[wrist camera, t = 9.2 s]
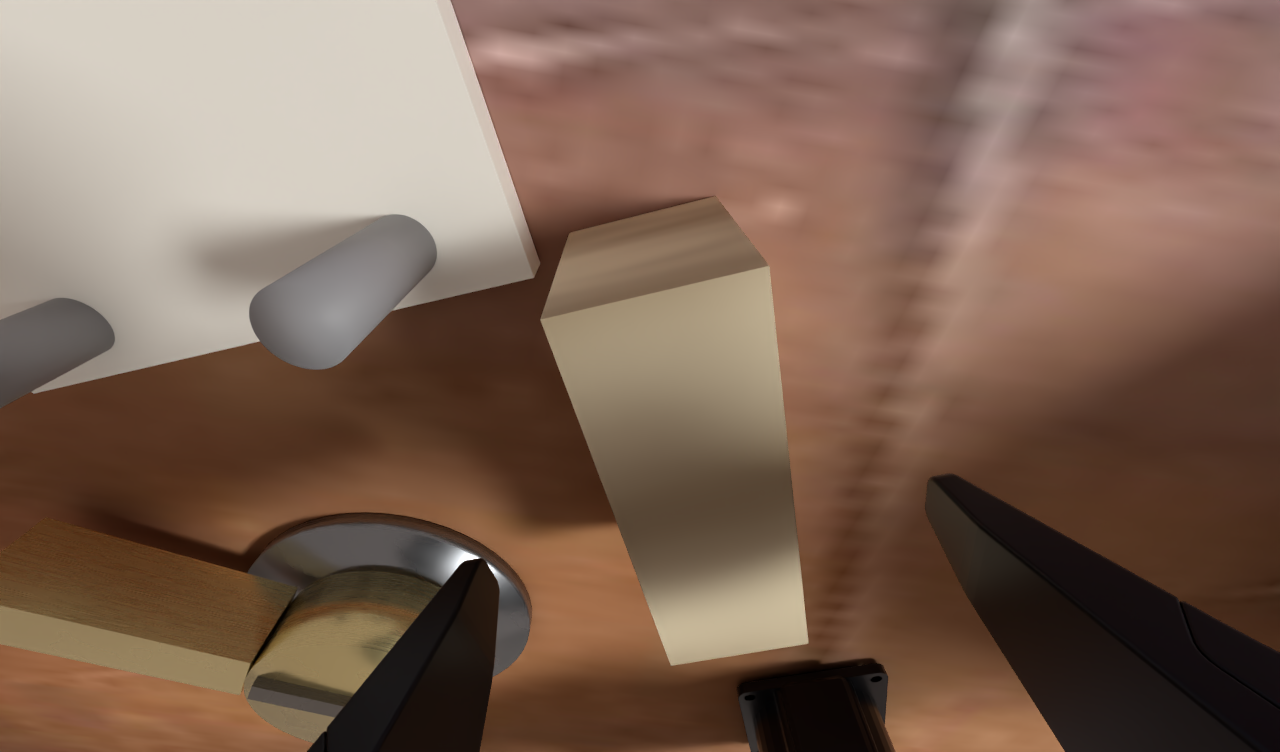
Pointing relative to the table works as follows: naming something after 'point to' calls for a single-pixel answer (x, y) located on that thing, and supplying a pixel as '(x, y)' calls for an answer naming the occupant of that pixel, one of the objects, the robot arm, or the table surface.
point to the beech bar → (686, 421)
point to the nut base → (395, 563)
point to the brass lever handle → (204, 621)
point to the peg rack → (237, 180)
